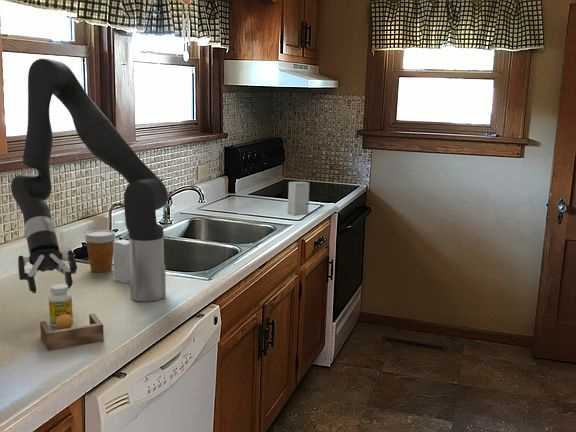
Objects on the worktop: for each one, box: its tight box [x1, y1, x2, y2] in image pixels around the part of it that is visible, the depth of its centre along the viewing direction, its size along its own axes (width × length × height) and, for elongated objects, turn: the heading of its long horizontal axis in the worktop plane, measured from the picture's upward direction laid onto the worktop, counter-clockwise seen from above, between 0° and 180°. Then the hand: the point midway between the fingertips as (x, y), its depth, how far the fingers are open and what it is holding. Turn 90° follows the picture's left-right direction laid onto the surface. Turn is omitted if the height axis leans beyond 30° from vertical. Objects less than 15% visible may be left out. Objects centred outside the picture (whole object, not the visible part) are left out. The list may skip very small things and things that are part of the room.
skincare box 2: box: [287, 181, 310, 216], centre depth 296 cm, size 8×6×15 cm
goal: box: [39, 313, 105, 352], centre depth 148 cm, size 12×8×4 cm, turn 121°
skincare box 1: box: [113, 239, 130, 284], centre depth 191 cm, size 6×4×12 cm
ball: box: [56, 314, 74, 330], centre depth 153 cm, size 4×4×4 cm
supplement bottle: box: [48, 283, 74, 328], centre depth 156 cm, size 5×5×10 cm
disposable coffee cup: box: [83, 229, 117, 273], centre depth 201 cm, size 10×10×12 cm
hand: (52, 289), depth 165 cm, fingers open, 8 cm apart
